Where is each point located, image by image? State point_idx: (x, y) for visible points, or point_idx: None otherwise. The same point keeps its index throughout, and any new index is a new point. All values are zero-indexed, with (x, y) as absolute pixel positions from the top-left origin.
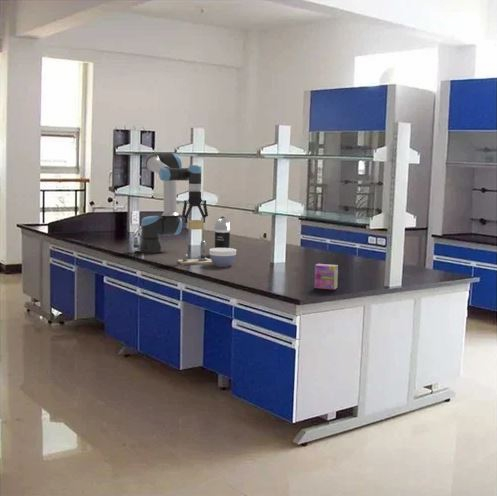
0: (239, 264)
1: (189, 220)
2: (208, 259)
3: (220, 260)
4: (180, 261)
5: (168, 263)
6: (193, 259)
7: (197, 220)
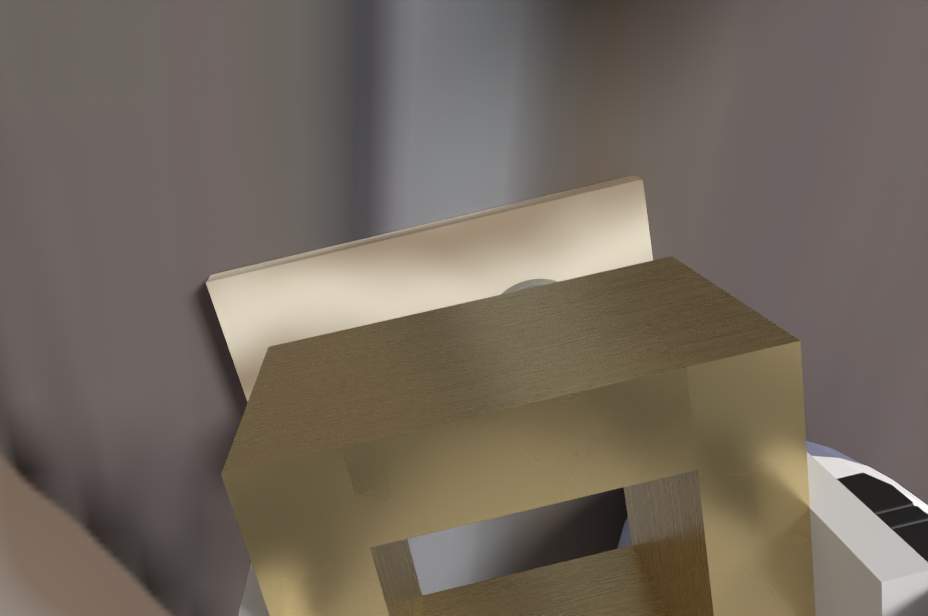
0: (902, 444)
1: (350, 607)
2: (616, 255)
3: None
4: (247, 399)
5: (97, 401)
6: (419, 257)
7: (676, 470)
